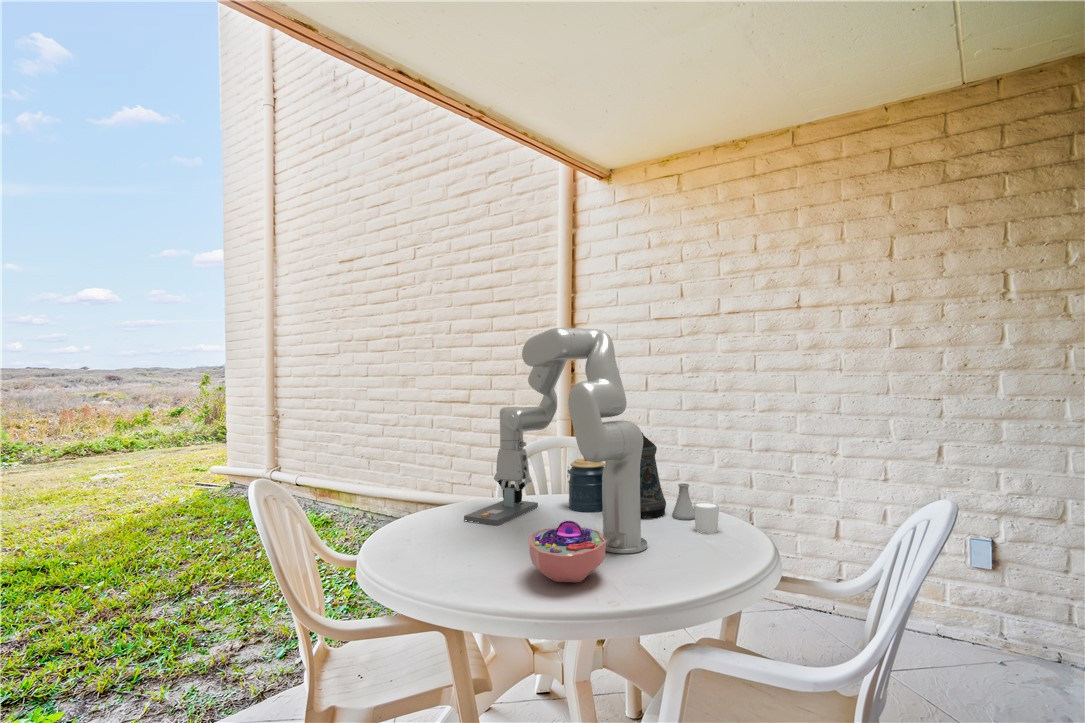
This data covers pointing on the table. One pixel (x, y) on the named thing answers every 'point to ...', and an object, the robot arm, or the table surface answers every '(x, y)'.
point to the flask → (683, 504)
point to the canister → (586, 485)
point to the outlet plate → (499, 513)
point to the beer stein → (650, 484)
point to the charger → (510, 496)
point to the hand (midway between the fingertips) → (512, 501)
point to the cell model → (567, 552)
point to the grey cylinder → (706, 517)
